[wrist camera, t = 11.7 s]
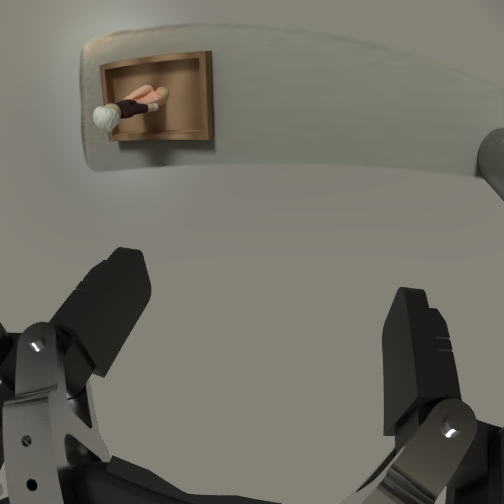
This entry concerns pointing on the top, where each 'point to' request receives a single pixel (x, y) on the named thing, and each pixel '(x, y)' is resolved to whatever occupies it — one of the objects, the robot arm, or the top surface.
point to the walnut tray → (178, 101)
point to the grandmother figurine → (130, 106)
